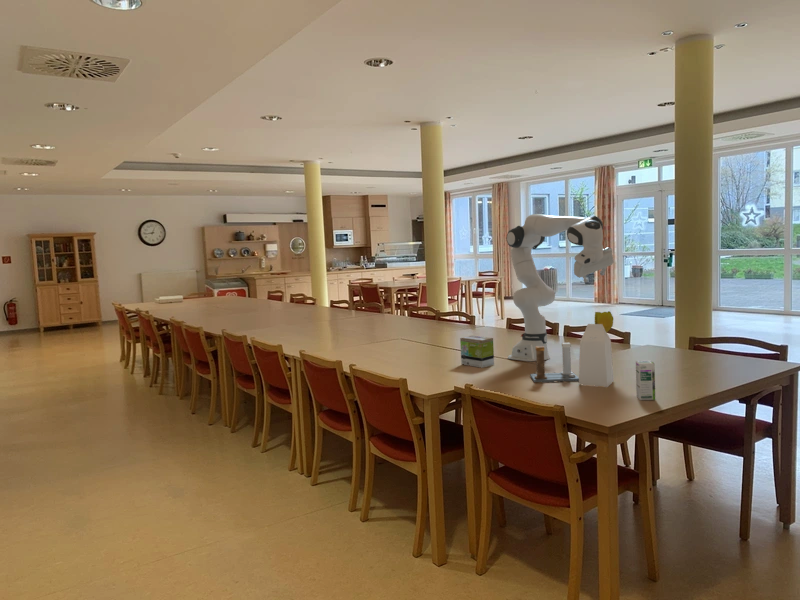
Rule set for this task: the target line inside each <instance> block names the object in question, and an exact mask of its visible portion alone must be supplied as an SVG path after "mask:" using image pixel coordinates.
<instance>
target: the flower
mask: <svg viewBox="0 0 800 600" xmlns="http://www.w3.org/2000/svg"><path fill="white" fill-rule="evenodd" d="M594 324H602V325H603V327H604V329H605V331H606V333H608V332H610V330H611V329H612V327H614V326H613V325H614V315H613V313H612V312H611V310H610V311H603V312H601V311H595V312H594Z"/></svg>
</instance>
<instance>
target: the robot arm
mask: <svg viewBox="0 0 800 600" xmlns="http://www.w3.org/2000/svg"><path fill="white" fill-rule="evenodd" d="M523 224H524V225H522V226H521V225H517V226H515V227H513V228H511V229H510V230H508V232H507V233H506V238H505V239H506V242H507V244H508V246H509V247H510V248H511V251H510V257H511V261H512V265H513V268H514V271H515V276H516V278H517V280H518V281H519V283H521V284H523V285H524V286H525V287H523V288H519V289H518V290H516V291H515V292H514V294H513V295H512V298H513V299H512V301H513V303H514V305H515V306H516V308H518V309H519V310H520V312H521V314H522V316H523V321H524V322H523V323H524V332H523V333H522V334H521V335H520V337H521V338H522V339H521V340H519V341H518V342H517V343H516V344H515V345H513V347H512V349H511V354H509V355H507V359H509V360H515V361H516V360H517V361H523V362H537V361H536V347H535V346H544V361H546V360H550V358H551V357H550V354H549V349H548V344H547V343H548V333H547V326H546V322H547V321H546V317H545V316H544V315H543V314H541V313H540V310H539V308H540V307H545V306H548V305H551V304H553V302H555V299H556V294H555V290H554V289H553V288H552V287H550V286H549V285H548V284H546V283H545V282H544V280H543V279H542V277H541V276H540V275H539V272H538V270H537V267H536V265H535V262H534V258H533V256H532V250H536V249H537V248H538V247H540V246H541V244H543V243H544V240H545V239H546V237H549V238H550V237H553V236H557V235H558V234H560V233H563V232H565V231H566V235H567V236H566V237H567V239H568V241H569V242H570V243H571V244H573V245H576V246H579V247H580V246H582V247H583V249H582V250H581V251H580V252H579V253H578V254H576V255H575V256H574V261H575V262H574V264H573V274H574V275H575V276H576V277H578V278H579V279H580V278H583V282H584V283H588V282H589V278H588V277H587V275H588V276H589V275H590V274H593V273H595V272H597V271H599V270H600V271H599V276H605V274H606V273H605V272H606V271H607V269H608V267H610V266H612V265H613V264H614V257H613V256H614V255H613V249H612V248H611V247H606V248H604V245H603V242H604V234H603V229H604V223H603V221H602V219H601V218H599V217H598V216H596V215H589V216H584V217H583V216H572V215H570V216H568V215H567V216H565V215H550V214H549V215H548V214H543V213H541V214H540V213H535V214H529V215H528V216H526V218H525V220H524V223H523Z"/></svg>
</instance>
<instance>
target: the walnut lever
mask: <svg viewBox="0 0 800 600" xmlns="http://www.w3.org/2000/svg"><path fill="white" fill-rule="evenodd" d="M535 347H536V361H535V362H536V374H537V376H535V378H536V379H547V376H546V375H545V360H544V346H535Z"/></svg>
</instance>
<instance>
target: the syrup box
mask: <svg viewBox="0 0 800 600" xmlns="http://www.w3.org/2000/svg"><path fill="white" fill-rule="evenodd" d="M655 370H656V369H655V363H654V361H652V360H635V383H636V386H635V387H636V388H635V389H636V397H637V399H638V400H639V401H656V373H655V372H656V371H655Z"/></svg>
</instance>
